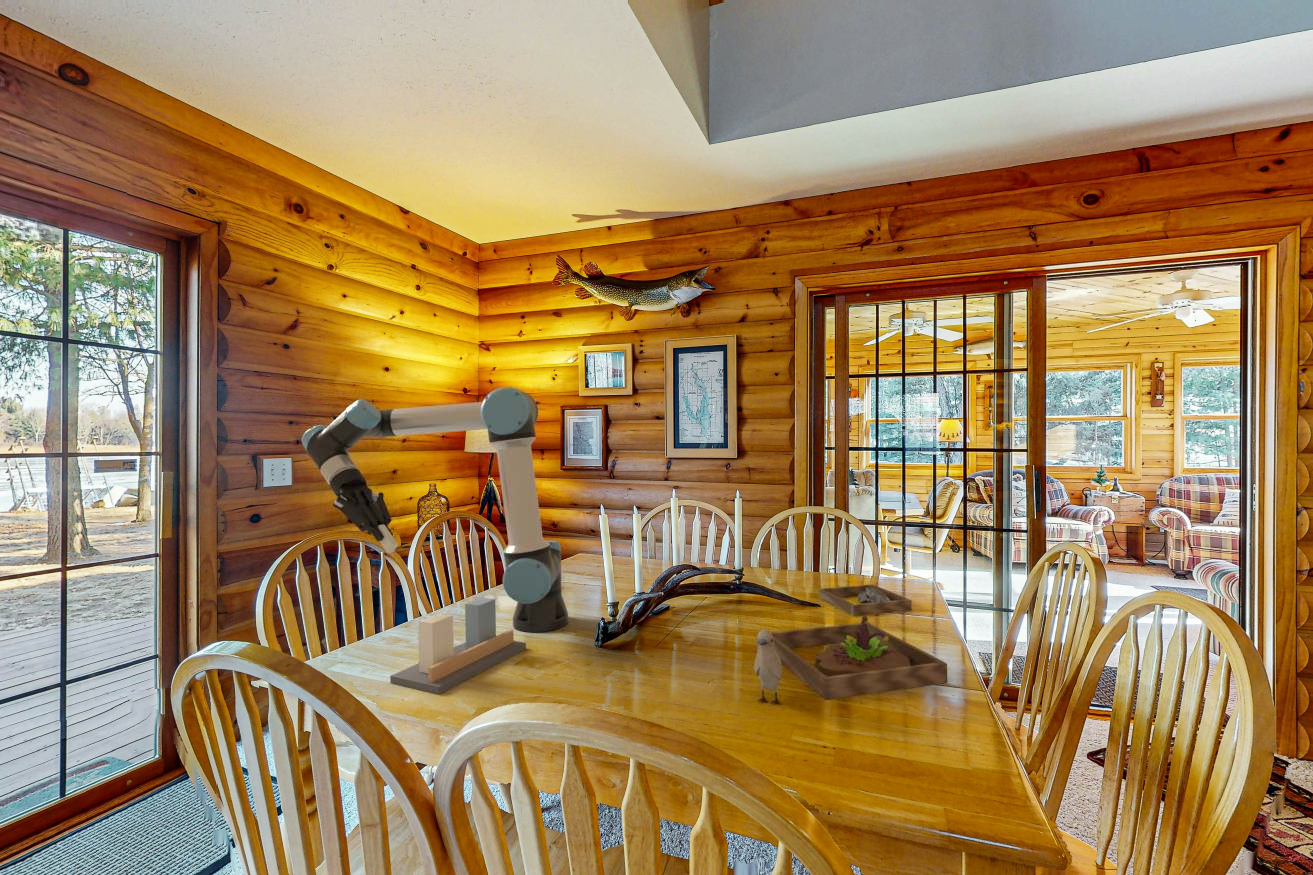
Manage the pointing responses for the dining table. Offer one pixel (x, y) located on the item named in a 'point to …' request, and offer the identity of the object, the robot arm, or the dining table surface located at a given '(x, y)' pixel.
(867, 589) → the fossilized seashell
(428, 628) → the beige tall block
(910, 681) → the planter frame
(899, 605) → the frame
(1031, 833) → the dining table surface
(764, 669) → the bird
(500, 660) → the grey stand base
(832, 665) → the plant
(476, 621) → the grey tall block
